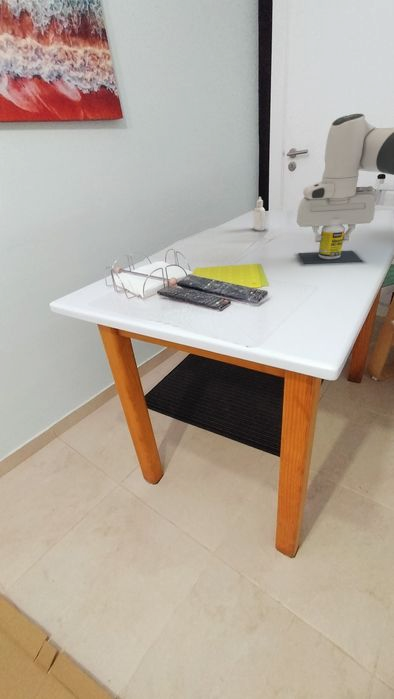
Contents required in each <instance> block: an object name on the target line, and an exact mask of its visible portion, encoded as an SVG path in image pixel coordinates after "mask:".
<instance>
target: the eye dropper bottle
mask: <svg viewBox="0 0 394 699" xmlns="http://www.w3.org/2000/svg"><path fill="white" fill-rule="evenodd" d="M263 206H264V200H263V199H262V196H258V199H257V200H256V207H255V208H254V209H253V229H254V230H255V231H258V232H262V231H265V230H266V229H265V227H266V225H265V224H266V209H265V208H264V207H263Z"/></svg>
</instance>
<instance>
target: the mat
mask: <svg viewBox="0 0 394 699" xmlns="http://www.w3.org/2000/svg"><path fill="white" fill-rule="evenodd" d="M298 256H299V258H300V259H301V261H302V262H303V264H304V265H315V264H337V263H339V264H341V263H342V264H343V263H361V262H363V260H362V259H361V258H360V257H359V256H358V254H356V253H355V252H354V251H353V250H341V255H340V257H339V258H337V259H323V258H321V257H319V251H315V252H314V251H313V252H298Z"/></svg>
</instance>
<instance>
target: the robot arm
mask: <svg viewBox="0 0 394 699" xmlns="http://www.w3.org/2000/svg"><path fill="white" fill-rule="evenodd" d="M324 152H325V153H324V171H323V173H322V177H321V179H322V180H321V181H318V182H316V183H314V184H312V185H309V186H307V187H304V189H303V192H302V193H303V198H302V199H301V200H300V202H299V204H298V209H297V214H296V224H297V225H298V226H299V227H300V228H309V227H312V232H313V234H314V236H315V237H314V241H315V243H320V242H321V241H322V240H321V239H322V235H321V233H319V232H318V231H319V230H320V227H323V226H329V225H330V223H331V219H342V221H341V224H340V225H343V226H345V225H347V227H348V228H347V230H345V231H346V232H344V238H343V242H344V241H349V240H350V236H351V234H352V233H353V231H354V230H355V228H356V225H360V224H361V225H362V224H363V225H364V224H370V223H371V222H372V221H374V219H375V212H376V210H375V209H376V202H377V200H378V196H379V190H378V189H377V188H376V187H374V185H373V186H372V185H369V186H368V185H367V186H358V180H359V176H360V175H359V174H360V173H359V171H361V172H372V173H381V174H387V175H392V176H394V126H393V127H385V128H384V127H377V128H376V126H373V125H371V124H370V122H369V123H368V121H367V120H366V115H365V114H364V113H353V114H348V115H343V116H341V117H338V118H336V119H335V120H334V121H333V122H332V123H331V125H330V127H329V130H328V133H327V138H326V144H325V150H324Z"/></svg>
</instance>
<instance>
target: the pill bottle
mask: <svg viewBox="0 0 394 699" xmlns="http://www.w3.org/2000/svg"><path fill="white" fill-rule="evenodd" d="M341 221H342V219H331V223H330V225H329V226H321V233H320V234H321V235H322V239H321V240H322V241H321V242H319V247H318V248H319V249H318V252H319V257H321V258H323V259H337V258H339V257H340V255H341V251H343V244H344V241H343V238H344V233H345V231H346V228H345V225H340V224H341Z"/></svg>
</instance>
